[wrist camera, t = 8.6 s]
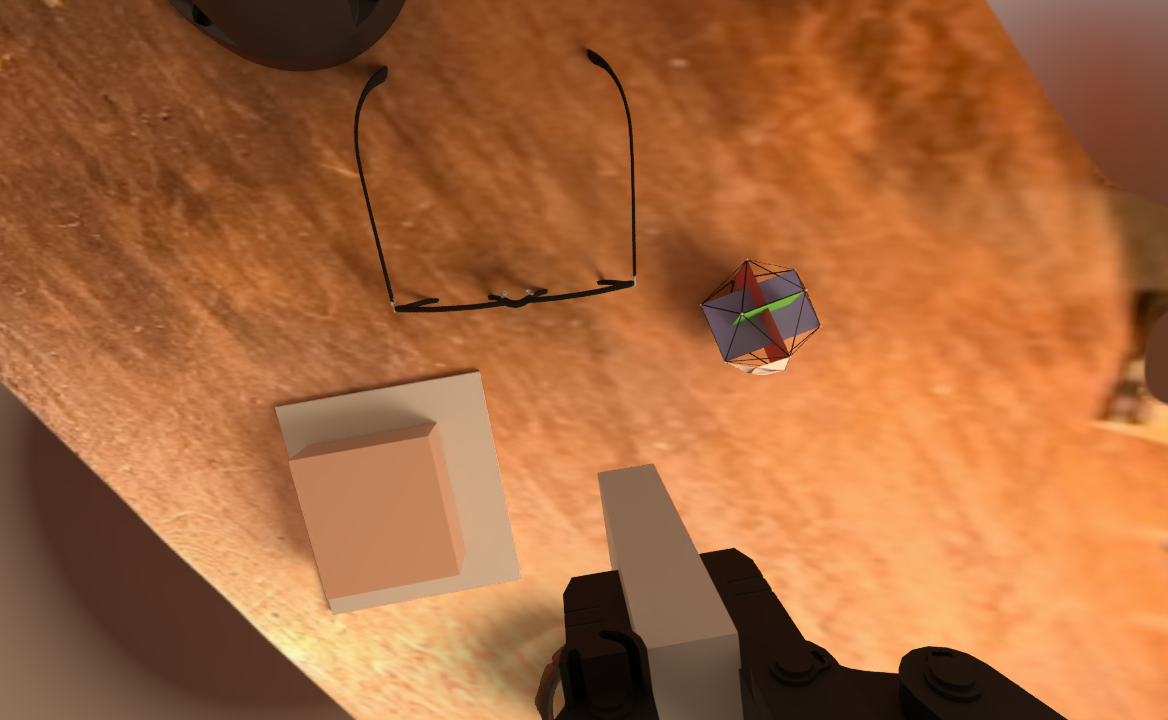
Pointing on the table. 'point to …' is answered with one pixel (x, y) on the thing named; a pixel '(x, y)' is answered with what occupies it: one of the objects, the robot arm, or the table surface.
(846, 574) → the table surface
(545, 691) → the brown curved band frame
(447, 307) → the eyeglasses
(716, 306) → the geometric puzzle
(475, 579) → the mat
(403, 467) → the block
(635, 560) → the robot arm
